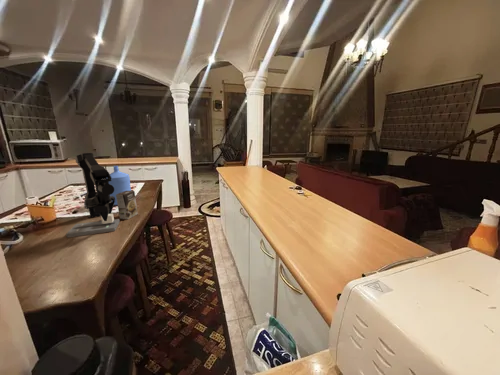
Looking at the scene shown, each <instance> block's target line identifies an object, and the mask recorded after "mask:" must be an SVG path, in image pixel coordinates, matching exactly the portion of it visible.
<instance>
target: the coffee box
mask: <svg viewBox="0 0 500 375" xmlns="http://www.w3.org/2000/svg"><path fill="white" fill-rule="evenodd" d="M116 198H117V204H118V205H117V211H118V216H119V220H120V219H121V220H129V219H131V218H133V217H134V216H135V217H136V216H137V215H138V207H137V206H138V205H137V199H136V193H135V190H131V191H124V192H121V193H119V194H116Z"/></svg>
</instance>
